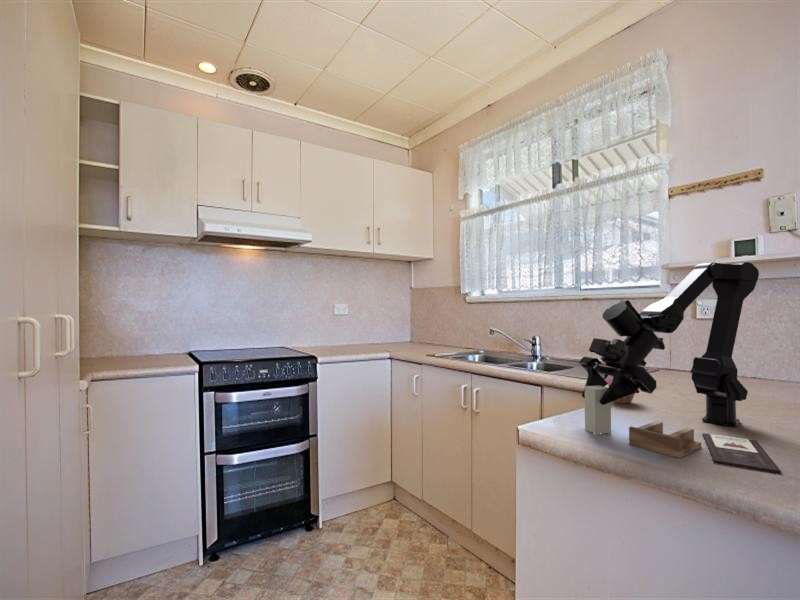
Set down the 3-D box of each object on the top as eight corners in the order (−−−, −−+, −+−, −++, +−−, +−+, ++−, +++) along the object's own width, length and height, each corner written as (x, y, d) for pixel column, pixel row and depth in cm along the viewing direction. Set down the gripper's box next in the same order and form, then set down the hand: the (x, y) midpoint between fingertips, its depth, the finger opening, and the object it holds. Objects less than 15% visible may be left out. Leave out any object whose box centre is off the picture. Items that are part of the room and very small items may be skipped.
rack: (652, 435, 88) (652, 419, 88) (701, 447, 80) (701, 430, 80) (629, 444, 82) (629, 427, 82) (678, 458, 75) (678, 439, 75)
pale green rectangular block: (600, 428, 93) (599, 385, 93) (611, 433, 89) (610, 388, 89) (584, 429, 92) (584, 386, 92) (595, 434, 88) (594, 389, 89)
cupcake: (601, 398, 123) (600, 365, 123) (631, 399, 121) (631, 366, 121) (612, 405, 114) (611, 370, 114) (644, 406, 113) (644, 370, 113)
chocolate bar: (713, 460, 72) (702, 433, 88) (713, 465, 72) (702, 437, 88) (780, 471, 68) (756, 440, 83) (781, 476, 67) (756, 444, 83)
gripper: (585, 324, 101) (546, 369, 98) (644, 328, 82) (597, 384, 80) (613, 354, 102) (574, 400, 100) (676, 365, 84) (632, 421, 82)
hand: (592, 400), depth 90 cm, fingers open, 6 cm apart
